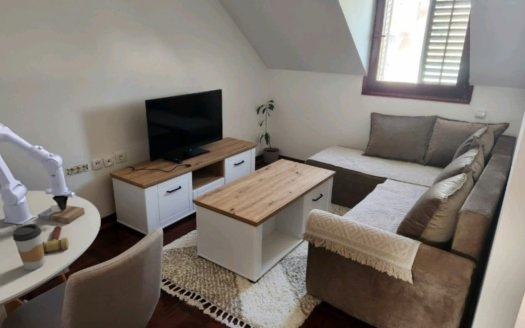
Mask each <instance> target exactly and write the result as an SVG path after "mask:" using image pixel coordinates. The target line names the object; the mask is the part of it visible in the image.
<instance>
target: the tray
mask: <svg viewBox="0 0 525 328" xmlns="http://www.w3.org/2000/svg"><path fill="white" fill-rule="evenodd" d="M52 213H53V212H52V209H51V207H49V208H48V209H45V210H43V211H41V212H40V213H38V214H37V217H38V220H42V219H44V220H43V221H48V220H49V221H48V222H51V221H50V217H49V215H50V214H52Z"/></svg>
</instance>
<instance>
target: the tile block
mask: <svg viewBox="0 0 525 328" xmlns="http://www.w3.org/2000/svg"><path fill="white" fill-rule="evenodd" d="M49 208H51V209H52V212H60V211H62V210H61V209H60V207H59V205H58V204H57V203H56V202H54V203H52V204H50V207H49Z"/></svg>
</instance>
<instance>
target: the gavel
mask: <svg viewBox="0 0 525 328" xmlns="http://www.w3.org/2000/svg"><path fill="white" fill-rule="evenodd" d="M61 231H62V227H61V226H60V224H58V225H56V226H55V227H54V228H53V232H52V234H51V235H52V236H51V238H50V240H49V241H42V243H43V249H44V254H45V253H49V252H56V251H60V250H62V251H65V250H68V249H69V247H70V246H69V245H70V244H69V239H68V237H66V236H65V237H60V235H61Z"/></svg>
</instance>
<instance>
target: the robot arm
mask: <svg viewBox="0 0 525 328" xmlns="http://www.w3.org/2000/svg"><path fill="white" fill-rule="evenodd" d="M0 143H9V144H10V145H11V146H14V147H16V148H18V149H20V150H22V151H24V152H26V154H27V156H28V157H29V158H30V159H32V160H34V161H35V162H37V163H39V164H41V165H43V169H44V170H45V171H47V173H48V174H47V175H48V179H49V183H50V188H47V189H45V190H44V191H45V195H49V194H50V195H52V196H53V197H52V200H53V201H54V202H55V203H57V204H58V205H59V207H60V209H61V210H65V209H66V205H67V204H68V200H69V198H72V199H73V198H75V197H76V192H75V191H72V190H69V188H68V187H67V184H66V180H65V175H64V169H63V166H62V165H63V164H64V160H63V158H62V157H61V155H59V154H56V153H52V152H49V151H48V150H46V149H44V147H43V146H41V145H40V146H39V145H37V144H36V145H32V144H31V143H29V142H28V141H27V140H26V139H25V140H24V139H23V138H21V137H20V136H19V135H18V134H16V133H14V132H13V131H12V130H11V129H10V127H7V126H6V125H4V124H3V123H1V122H0ZM0 195H1V200H2V202H3V205H2V212H3V215H4V218H5V219H4V220H3V221H4V223H8V224H9V223H10V224H15V225H22V224H24V223H26V222H28V221H29V220H32V219H33V218H35V217H36V215H34V214H31V213H30V209H29V208H30V207H29V205H28V200H27V196H26V195H28V188H27V187H26V186H25V184H23V183H21V181H20V180H17V179H15V178H14V176H13V174H12V172H11V170H10V169H9V167H8V165H7V164H6V162H5V161H4V158H3V157H2V155H1V154H0Z"/></svg>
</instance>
